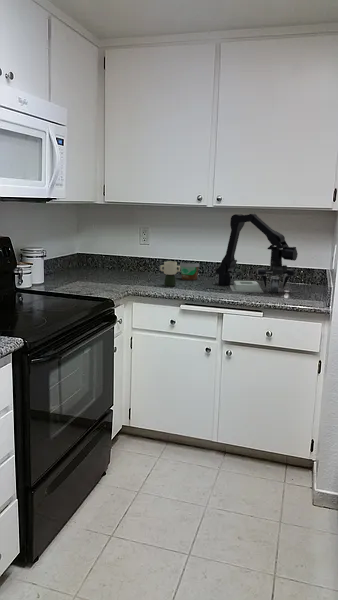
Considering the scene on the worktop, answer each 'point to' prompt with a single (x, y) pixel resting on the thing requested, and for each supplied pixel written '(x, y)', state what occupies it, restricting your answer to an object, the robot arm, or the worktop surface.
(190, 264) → the food container
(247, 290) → the dock
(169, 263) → the character mug
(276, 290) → the spigot
